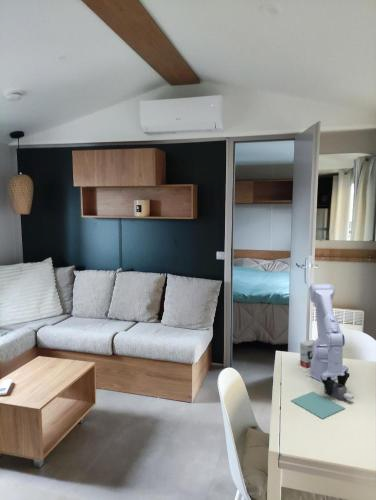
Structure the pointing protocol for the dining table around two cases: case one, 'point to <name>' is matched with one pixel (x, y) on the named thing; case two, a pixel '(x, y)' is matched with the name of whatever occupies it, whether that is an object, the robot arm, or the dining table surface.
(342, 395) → the cylinder
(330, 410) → the charging mat
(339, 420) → the dining table surface
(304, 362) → the ink box
